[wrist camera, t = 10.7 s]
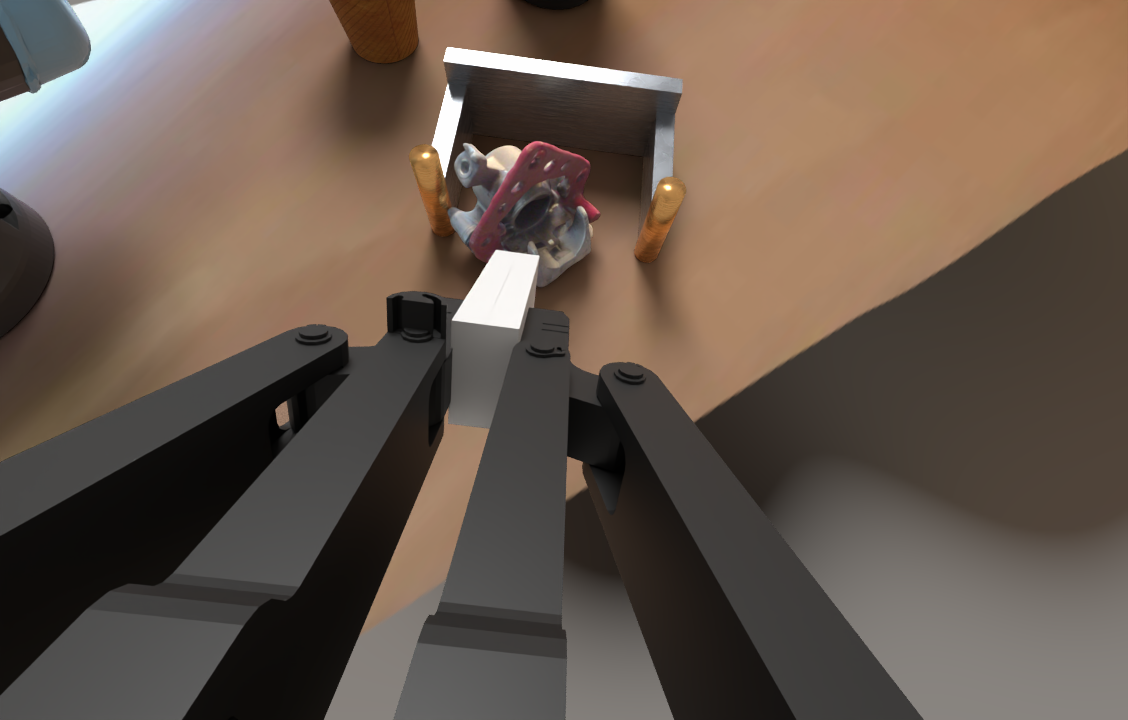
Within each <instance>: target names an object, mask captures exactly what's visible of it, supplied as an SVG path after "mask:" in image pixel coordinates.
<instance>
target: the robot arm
mask: <svg viewBox="0 0 1128 720" xmlns="http://www.w3.org/2000/svg"><path fill="white" fill-rule="evenodd" d="M90 51H91V45H90V40H89V37H88V34H87V32H86V30H85V28H84V27H83V25H82V23H81V22H80V20H79V18H78V17H77V15H76V13H75V12H74V10H73V9H72V7H71V5H70V4H69V2H68V1H67V0H0V102H1V101H3V100H6V99H9V98H11V97H14V96H17V95H20V94H22V93H25V92H30V93H35V92H37V91H38V90H40V88H41V85H42V84H45V83H47V82H49V81H51V80H54V79H56V78H58V77H61V76H63V75H65V74H67V73H70V72H72V71H74V70H77V69H79V68H81V67H82V66H83V65H84V64H86V62H87V61H88V59H89V55H90ZM53 258H54V246H53V240H52V236H51V233H50V230H49V228H48V226H47V225H46V223H45V221H44V220H43V219H42V217H41V216H40V215H39V214H38V213H37V212H36V211H34V210H33V209H32V208H31V207H29V206H28V205H26V204H25V203H23V202H22V201H20V200H18V199H17V198H15V197H14V196H12V195H11V194H9V193H8V192H6V191H4V190H3V189H1V188H0V337H1V336H3V335H4V334H5V333H7V332H8V331H9V330H10V329H11V328H13V327H14V326H15V325H16V324H17V323H18V322H19V321H20V320H21V319H22V318H23V317H24V316H25V315H26V314H27V312H28V311H29V310H30V309H31V308H32V306H33V305H34V304H35V302H36V301H37V299H38V298H39V297H40V295H41V293H42V291H43V290H44V288H45V286H46V284H47V281H48V279H49V276H50V273H51V270H52V265H53ZM538 265H539V256H538V255H530V254H523V253H516V252H508V251H501V250H495V252H494V254H493V255H492V257H491V258H490V260H489V262H488V263H487V265H486V266H485V268H484V270H483V271H482V273H481V274H480V276H479V277H478V279H477V281H476V282H475V284H474V285H473V287H472V289H471V290H470V292H469V293H468V295H467V297H466V298H465V300H460V299H452V298H445V297H441V296H439V295H436V294H432V293H427V292H417V291H410V292H400V293H396V294H392V295H390V296H388V297H387V328H388V332H387V333H386V334H385V335H384V337H383V338H382V339H381V340H380V341H379V342H378V343H377V344H376V346H369V347H348V335H347V334H346V333H345V332H344V331H343V330H341V329H338V328H336V327H330V326H326V325H320V324H318V326H316V324H313V325H307V326H305V327H298V328H295V329H292V330H289V331H286V332H284V333H282V334H280V335H278V336H275V337H273V338H271V339H269V340H267V341H264V342H262V343H260V344H258V345H256V346H253V347H251V348H249V349H247V350H245V351H243V352H240V353H238V354H236V355H234V356H232V357H229V358H227V359H225V360H223V361H221V362H218V363H216V364H214V365H212V366H210V367H207V368H205V369H203V370H201V371H199V372H196V373H194V374H192V375H190V376H188V377H186V378H183V379H181V380H179V381H177V382H175V383H172V384H170V385H168V386H166V387H164V388H161V389H159V390H157V391H155V392H153V393H150V394H148V395H146V396H144V397H142V398H140V399H137V400H135V401H133V402H131V403H129V404H126V405H124V406H122V407H120V408H118V409H115V410H113V411H111V412H109V413H107V414H104V415H102V416H100V417H98V418H96V419H93V420H91V421H89V422H87V423H85V424H83V425H80V426H78V427H76V428H74V429H72V430H69V431H67V432H65V433H63V434H61V435H58V436H56V437H54V438H52V439H50V440H47V441H45V442H43V443H41V444H39V445H36V446H34V447H32V448H30V449H28V450H26V451H23V452H21V453H19V454H17V455H15V456H12V457H10V458H8V459H6V460H4V461H1V462H0V720H324V718H325V715H326V713H327V710H328V708H329V706H330V703H331V701H332V699H333V696H334V694H335V692H336V689H337V687H338V684H339V682H340V680H341V677H342V675H343V673H344V670H345V668H346V665H347V663H348V660H349V658H350V656H351V653H352V651H353V649H354V646H355V644H356V641H357V639H358V637H359V634H360V632H361V630H362V627H363V625H364V623H365V620H366V618H367V615H368V613H369V611H370V608H371V606H372V604H373V601H374V599H375V596H376V594H377V592H378V589H379V587H380V584H381V582H382V580H383V577H384V575H385V573H386V570H387V568H388V565H389V563H390V561H391V558H392V556H393V554H394V551H395V549H396V546H397V544H398V542H399V539H400V537H401V535H402V532H403V530H404V527H405V525H406V523H407V520H408V518H409V515H410V513H411V511H412V508H413V506H414V504H415V501H416V499H417V496H418V494H419V492H420V489H421V487H422V485H423V482H424V480H425V477H426V475H427V473H428V470H429V468H430V466H431V463H432V461H433V458H434V456H435V454H436V451H437V449H438V446H439V444H440V442H441V439H442V437H443V433H444V416H445V413H446V411H447V409H448V407H449V417H448V424H456V425H464V426H472V427H481V428H489V429H490V430H489V433H488V437H487V440H486V444H485V447H484V451H483V454H482V458H481V461H480V464H479V468H478V471H477V475H476V478H475V482H474V485H473V489H472V492H471V496H470V499H469V503H468V506H467V510H466V513H465V517H464V520H463V524H462V527H461V530H460V534H459V537H458V541H457V544H456V548H455V551H454V555H453V558H452V562H451V565H450V569H449V572H448V576H447V579H446V583H445V586H444V590H443V593H442V596H441V600H440V603H439V606H438V609H437V612H436V614H435V615H429V616H428V618H427V619H426V621H425V623H424V625H423V628H422V631H421V634H420V636H419V639H418V642H417V645H416V648H415V651H414V655H413V658H412V661H411V664H410V668H409V672H408V674H407V677H406V681H405V684H404V687H403V691H402V693H401V697H400V700H399V703H398V706H397V710H396V713H395V716H394V720H565V713H566V711H565V710H566V666H567V639H566V631H565V630H562V622H561V621H562V620H561V619H562V588H563V587H562V585H563V558H564V529H565V500H566V470H567V456H568V457H571V458H574V459H577V460H579V461H582V462H583V465H582V469H583V475H584V478H585V480H586V483H587V486H588V489H589V491H590V494H591V497H592V499H593V502H594V505H595V507H596V510H597V513H598V515H599V518H600V521H601V523H602V526H603V529H604V532H605V534H606V537H607V540H608V542H609V545H610V548H611V551H612V553H613V556H614V559H615V561H616V564H617V567H618V569H619V572H620V575H621V577H622V580H623V583H624V586H625V588H626V591H627V594H628V596H629V599H630V602H631V604H632V607H633V610H634V612H635V615H636V618H637V621H638V623H639V626H640V629H641V631H642V634H643V637H644V639H645V642H646V645H647V648H648V650H649V653H650V656H651V658H652V661H653V664H654V666H655V669H656V672H657V675H658V677H659V680H660V683H661V685H662V688H663V691H664V693H665V696H666V699H667V702H668V704H669V707H670V710H671V712H672V715H673V718H674V720H923V718H922V717H921V716H920V714H919V713H918V712H917V710H916V709H915V708H914V707H913V705H912V704H911V703H910V701H909V700H908V699H907V698H906V696H905V695H904V694H903V692H902V691H901V690H900V689H899V687H898V686H897V685H896V683H895V682H894V681H893V680H892V678H891V677H890V676H889V674H888V673H887V672H886V670H885V669H884V668H883V667H882V665H881V664H880V663H879V661H878V660H877V659H876V658H875V656H874V655H873V654H872V652H871V651H870V650H869V649H868V647H867V646H866V645H865V644H864V642H863V641H862V639H861V638H860V637H859V636H858V634H857V633H856V632H855V631H854V629H853V628H852V627H851V625H850V624H849V623H848V621H847V620H846V619H845V618H844V616H843V615H842V614H841V612H840V611H839V610H838V608H837V607H836V606H835V605H834V603H833V602H832V601H831V599H830V598H829V597H828V596H827V594H826V593H825V592H824V590H823V589H822V588H821V587H820V585H819V584H818V583H817V581H816V580H815V579H814V578H813V576H812V575H811V574H810V572H809V571H808V570H807V568H806V567H805V566H804V565H803V563H802V562H801V561H800V559H799V558H798V557H797V556H796V554H795V553H794V552H793V550H792V549H791V548H790V547H789V545H788V544H787V543H786V541H785V540H784V539H783V538H782V536H781V535H780V534H779V532H778V531H777V530H776V528H775V527H774V526H773V525H772V523H771V522H770V521H769V520H768V518H767V517H766V516H765V514H764V513H763V512H762V510H761V509H760V508H759V507H758V505H757V504H756V503H755V501H754V500H753V499H752V497H751V496H750V495H749V494H748V492H747V491H746V490H745V488H744V487H743V486H742V485H741V483H740V482H739V481H738V479H737V478H736V477H735V476H734V474H733V473H732V472H731V470H730V469H729V468H728V467H727V465H726V464H725V463H724V461H723V460H722V459H721V457H720V456H719V455H718V454H717V453H716V451H715V450H714V448H713V447H712V446H711V445H710V443H709V442H708V441H707V439H706V438H705V437H704V435H703V434H702V433H701V432H700V430H699V429H698V428H697V426H696V425H695V424H694V423H693V421H692V420H691V419H690V417H689V416H688V415H687V414H686V412H685V411H684V410H683V408H682V407H681V406H680V405H679V403H678V402H677V401H676V399H675V398H674V397H673V395H672V394H671V393H670V392H669V390H668V389H667V388H666V386H665V385H664V384H663V383H662V381H661V380H660V379H659V377H658V376H657V375H655V374H654V373H653V372H652V371H650V370H648V369H646V368H644V367H643V366H641V365H639V364H636V365H635V363H631V362H627V363H623V362H617V363H609V364H607V365H604V366H603V367H602V368H601V370H600V373H599V376H598V375H595V374H591V373H589V372H586V371H583V370H581V369H579V368H578V367H576V366H575V365H573V364H572V363H571V361H570V353H569V350H568V343H569V318H568V317H567V316H566V315H565V314H564V313H563V312H561V311H553V310H546V309H538V308H534V302H535V293H536V284H537V274H538ZM286 400H287V406H288V414H289V421H288V422H287V423H285V424H284V425H282V426H280V427H279V426H278V424H277V419H276V412H275V409H276V408H277V407H278V406H279V405H280V404H282V403H283V402H285V401H286Z"/></svg>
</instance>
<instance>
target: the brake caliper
mask: <svg viewBox="0 0 1128 720" xmlns="http://www.w3.org/2000/svg"><path fill="white" fill-rule="evenodd" d="M463 146H464V148H465V151H464V152H462V153H461V154H459V155H458V157H457V159H456V161H455V163H454V167H455V171H456V174H457V176H458V179H459V180H460V182H461V183H462V185H463V186H464V187H466V188H469V187H472V188H473V191H474V193H475V195H476V196H477V204H476V206H475V208H474V209H473V210H472V211H469V212H464V211H461V210H459V209H457V208H455V207H452V208H450V209H449V210H448V216H449V218H450V222H451V225H452V227H453V228H454V230H455V231H456V232H457V233H458V235H459V236H460V238H461V240H462V241H463V242H464V244H465V245H466V246H467V247H468V248H469V249H470V250H471V251H472V252H473V254H474V255H475V256H476V258H478V259H479V260H481V261H483V262H485V263H488V262H489V260H490V258H491V257H492V255H493V254H494V252H495V250H501V251H508V252H516V253H523V254H530V255H538V256H539V265H538V274H537V284H536V286H538V287H544V286H546V285H548V284H549V283H551V282H552V281H554V280H555V279H556V278H558V277H559V276H560V275H561V274H562V273H563V272H564V271H565V270H566V269H567V268H569V267H570V266H571V265H573V264H574V263H576V262H578V261H580V260H581V259H583V258H584V257H585V256H587V255H588V254H589V253H590V251H591V240H590V239H591V238H592V236H593V228H592V226H591V225H590V223H592V222H594V221H595V220H597V219H598V218H599V217H600V212H599V211H598V210H597V209H596V208H595V207H594V206H593V205H592V204H591V203H590V202H588V201H587V200H586V199H585V198H584V197H583V192H584V185H585V182H586V181H587V178H588V176H589V173H590V163H589V161H588V160H586V159H584V158H583V157H582V156H580V155H577V154H572V153H570V152H568V151H564V150H561V149H559V148H557V147H555V146H554V145H550V144H548V143H544V142H540V141H535V142H532V143H530V144H529V145H527V146H526V147H525V148H524V149H523V150H522V151H521V150H520V149H518V148H517V147H515V146H502V147H499V148H496V149H495V150H493V151H491V152H490V153H489V154H487V155H486V156H484V155H483V154H482V153H481V152H480V151H478V150H477V149H476V148H475V146H473V145H472V144H468V143H464V144H463Z"/></svg>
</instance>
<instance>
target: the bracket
mask: <svg viewBox="0 0 1128 720" xmlns="http://www.w3.org/2000/svg"><path fill="white" fill-rule="evenodd" d="M444 65H445V71H446V76H447V82H448V85H447V89H446V93H445V97H444V101H443V105H442V109H441V113H440V117H439V121H438V125H437V129H436V133H435V137H434V140H433V144H432V146H431V145H426V144H423V145H418V146H416V147H414V148H413V149H412V150H411V151H410V154H409V160H410V163H411V166H412V169H413V172H414V175H415V178H416V181H417V184H418V187H419V191H420V194H421V197H422V200H423V203H424V206H425V209H426V212H427V215H428V218H429V221H430V224H431V227H432V230H433V232H434V233H435V234H436V235H438V236H443V237H444V236H449V235H451V234H452V233H453V232H454V231H455V230H454V228H453V227H452V225H451V222H450V218H449V216H448V210H449V209H450V208H452V207H455V208H457V207H458V202H459V198H460V193H461V188H462V183H461V182H460V180H459V179H458V176H457V174H456V171H455V167H454V163H455V161H456V159H457V157H458V155H459V154H461V153H462V152H464V151H465V148H464V146H463V144H464V143H468V144H471V143H472V138H473V134H476V135H484V136H491V137H499V138H506V139H514V140H522V141H529V142H535V141H540V142H544V143H548V144H552V145H559V146H567V147H574V148H582V149H589V150H597V151H605V152H612V153H620V154H627V155H635V156H642V157H643V171H642V186H641V201H640V217H639V232H638V241H637V244H636V246H635V249H634V253H635V256H636V257H637V259H638V260H640V261H642V262H646V263H649V262H652V261H654V260H655V259H656V258H657V256H658V254H659V251H660V249H661V247H662V245H663V243H664V240H665V238H666V236H667V234H668V231H669V229H670V227H671V225H672V223H673V220H674V218H675V216H676V214H677V212H678V209H679V207H680V205H681V203H682V200H683V198H684V196H685V194H686V187H685V185H684V183H683V182H682V181H681V180H679V179H678V178H675V177H672V175H673V149H674V124H675V112H676V110H677V107H678V104H679V101H680V98H681V95H682V79H677V78H670V77H663V76H655V75H648V74H641V73H633V72H626V71H619V70H611V69H604V68H597V67H589V66H582V65H575V64H567V63H560V62H553V61H545V60H538V59H531V58H523V57H516V56H509V55H501V54H494V53H487V52H479V51H472V50H465V49H457V48H450V47H447V51H446V54H445V58H444Z"/></svg>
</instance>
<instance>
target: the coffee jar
mask: <svg viewBox="0 0 1128 720" xmlns="http://www.w3.org/2000/svg"><path fill="white" fill-rule="evenodd" d="M525 1H527V2H528V3H531V4H533V5H536V6H538V7H541V8H547V9H554V10H556V9H569V8H572V7H575V6H579V5H581V4H583V3H584V2H586V1H587V0H525Z"/></svg>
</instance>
